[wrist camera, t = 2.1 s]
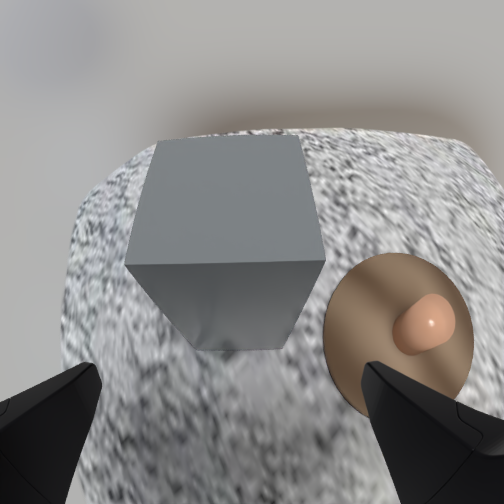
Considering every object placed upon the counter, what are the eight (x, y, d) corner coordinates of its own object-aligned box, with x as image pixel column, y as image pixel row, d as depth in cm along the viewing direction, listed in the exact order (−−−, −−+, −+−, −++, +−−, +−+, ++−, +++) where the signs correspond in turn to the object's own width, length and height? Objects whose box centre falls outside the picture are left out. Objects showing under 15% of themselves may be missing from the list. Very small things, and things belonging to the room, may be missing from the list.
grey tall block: (282, 348, 21) (326, 259, 9) (196, 350, 21) (124, 264, 9) (276, 272, 24) (298, 135, 12) (199, 274, 24) (157, 141, 12)
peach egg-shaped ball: (414, 364, 19) (441, 354, 16) (384, 335, 21) (406, 320, 17) (436, 331, 20) (461, 315, 17) (407, 303, 22) (430, 283, 18)
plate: (410, 458, 15) (414, 459, 15) (281, 337, 21) (282, 336, 21) (488, 325, 21) (491, 324, 20) (389, 228, 27) (391, 225, 26)
